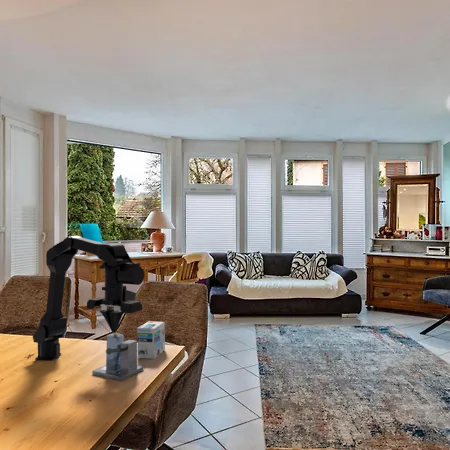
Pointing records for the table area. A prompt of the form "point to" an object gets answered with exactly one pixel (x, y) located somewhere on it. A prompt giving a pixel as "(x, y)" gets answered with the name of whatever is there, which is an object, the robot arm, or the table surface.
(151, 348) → the light bulb box
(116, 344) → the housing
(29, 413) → the table surface
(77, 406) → the table surface
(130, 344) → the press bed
